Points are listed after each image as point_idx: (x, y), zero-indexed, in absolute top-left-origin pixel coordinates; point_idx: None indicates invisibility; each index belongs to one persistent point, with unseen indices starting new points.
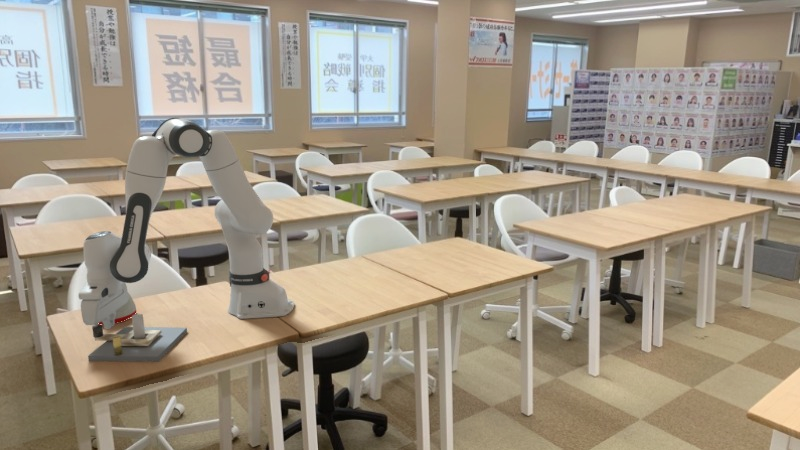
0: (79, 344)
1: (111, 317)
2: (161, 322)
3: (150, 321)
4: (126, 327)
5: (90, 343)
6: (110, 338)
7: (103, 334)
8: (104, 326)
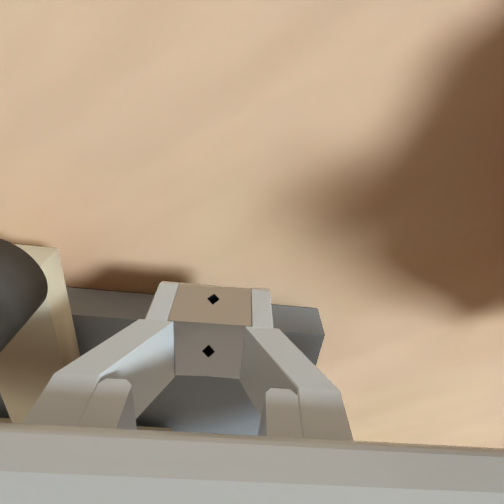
0: (21, 12)
1: (262, 391)
2: (417, 439)
3: (460, 391)
4: (307, 351)
5: (69, 132)
6: (1, 371)
7: (38, 309)
8: (156, 296)
